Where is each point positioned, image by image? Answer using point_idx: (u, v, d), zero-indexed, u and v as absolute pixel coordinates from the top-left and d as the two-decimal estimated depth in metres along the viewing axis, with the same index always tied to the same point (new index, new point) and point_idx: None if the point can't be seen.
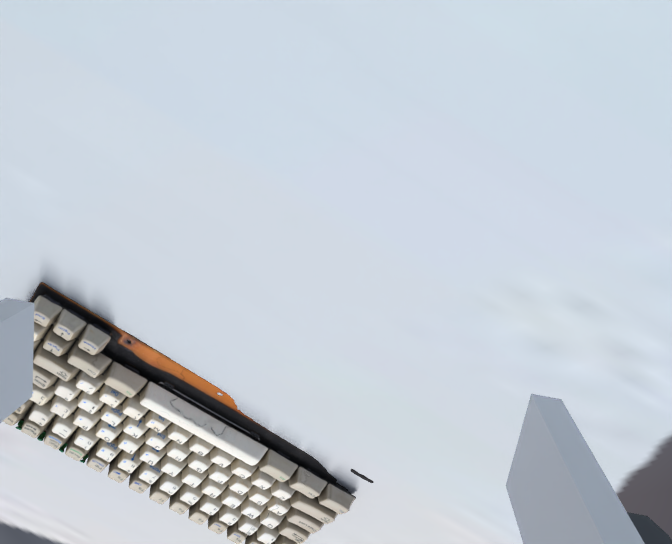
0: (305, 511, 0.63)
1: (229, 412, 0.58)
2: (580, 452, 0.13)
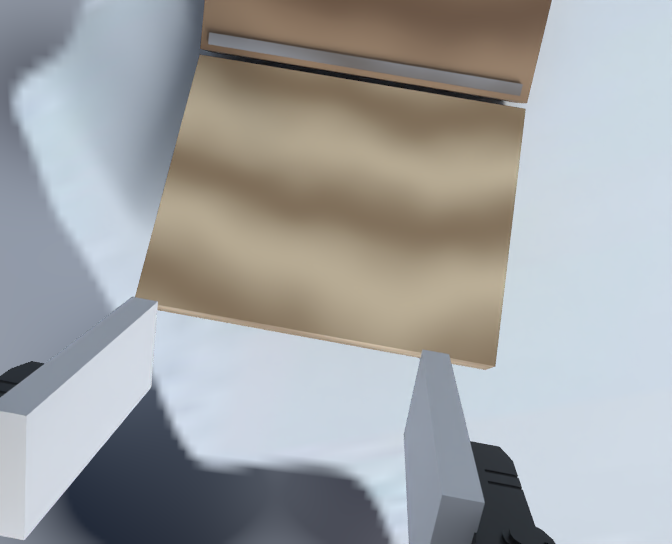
0: None
1: None
2: (447, 393, 0.14)
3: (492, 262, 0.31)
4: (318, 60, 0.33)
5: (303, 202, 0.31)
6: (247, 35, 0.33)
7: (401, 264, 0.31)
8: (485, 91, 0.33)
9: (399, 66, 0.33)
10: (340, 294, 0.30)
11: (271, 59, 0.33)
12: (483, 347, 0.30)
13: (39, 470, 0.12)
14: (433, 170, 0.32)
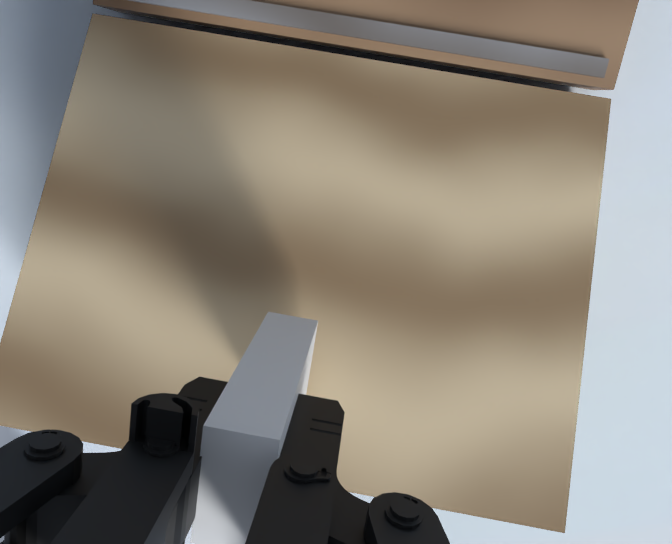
0: None
1: None
2: (296, 352, 0.15)
3: (559, 354, 0.19)
4: (279, 21, 0.20)
5: (254, 255, 0.20)
6: None
7: (410, 360, 0.19)
8: (547, 71, 0.20)
9: (409, 30, 0.20)
10: None
11: (205, 20, 0.21)
12: (545, 500, 0.18)
13: None
14: (464, 200, 0.20)
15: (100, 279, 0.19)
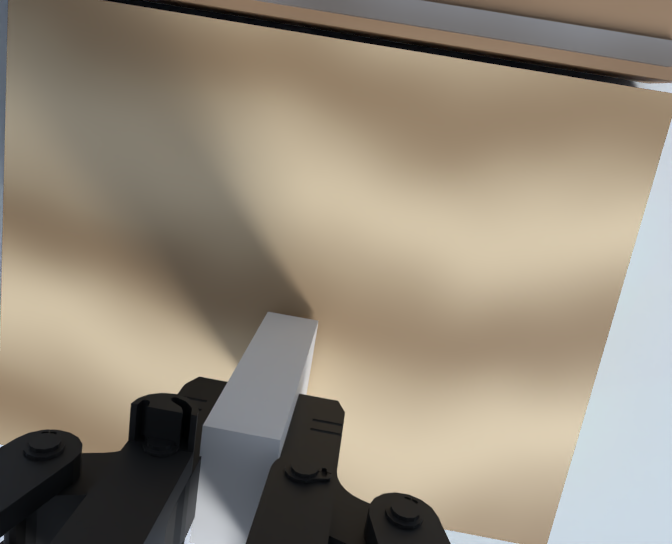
0: None
1: None
2: (297, 352, 0.15)
3: (563, 396, 0.18)
4: None
5: (239, 292, 0.18)
6: None
7: (406, 398, 0.18)
8: (595, 58, 0.16)
9: (416, 5, 0.15)
10: None
11: None
12: (530, 522, 0.19)
13: None
14: (474, 230, 0.17)
15: (82, 316, 0.19)
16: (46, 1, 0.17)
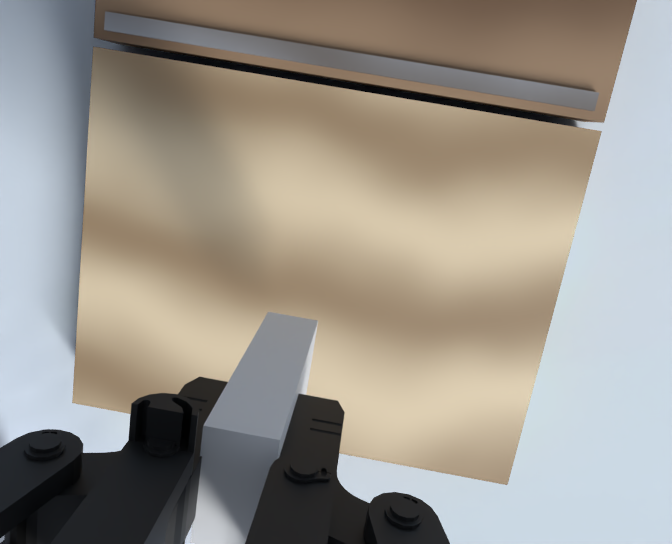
0: None
1: None
2: (296, 352, 0.15)
3: (519, 363, 0.23)
4: (276, 55, 0.21)
5: (266, 281, 0.23)
6: (166, 16, 0.21)
7: (397, 365, 0.24)
8: (538, 104, 0.21)
9: (403, 64, 0.21)
10: None
11: (203, 54, 0.21)
12: (495, 464, 0.24)
13: None
14: (449, 233, 0.22)
15: (143, 300, 0.24)
16: (121, 59, 0.22)
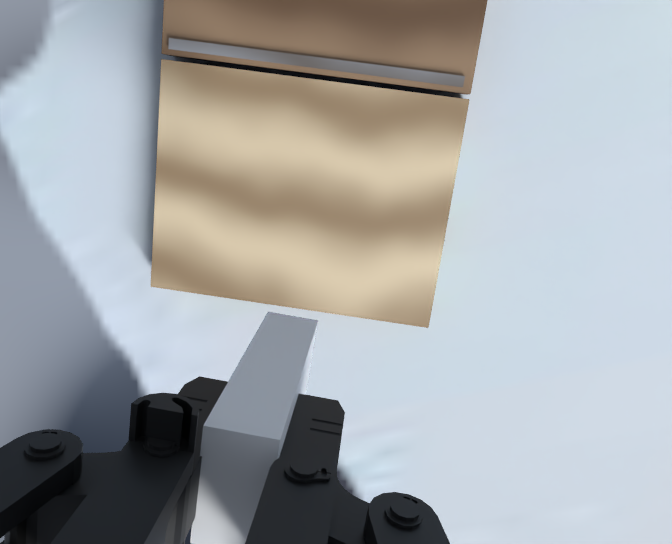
0: None
1: None
2: (296, 352, 0.15)
3: (430, 247, 0.37)
4: (272, 60, 0.35)
5: (271, 201, 0.37)
6: (205, 39, 0.35)
7: (354, 252, 0.38)
8: (430, 84, 0.35)
9: (348, 63, 0.34)
10: (307, 277, 0.38)
11: (228, 61, 0.35)
12: (419, 314, 0.38)
13: None
14: (382, 166, 0.36)
15: (194, 217, 0.38)
16: (178, 66, 0.36)
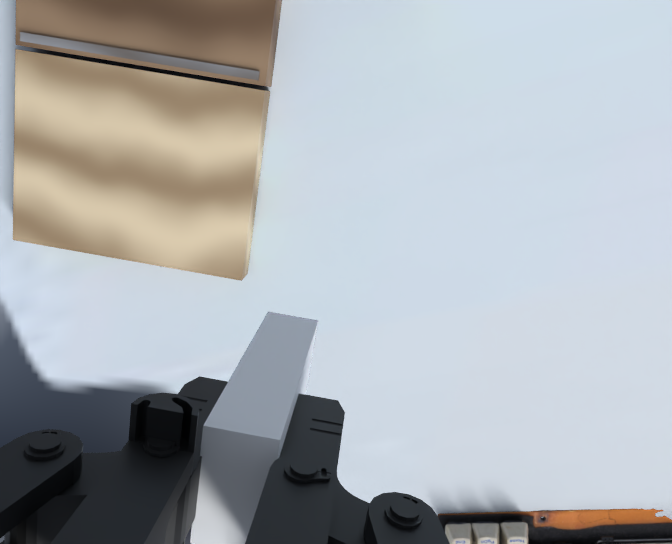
0: None
1: None
2: (296, 352, 0.15)
3: (239, 212, 0.45)
4: (104, 53, 0.42)
5: (109, 170, 0.45)
6: (50, 34, 0.43)
7: (179, 214, 0.45)
8: (233, 77, 0.42)
9: (165, 57, 0.42)
10: (141, 235, 0.46)
11: (70, 52, 0.43)
12: (234, 268, 0.46)
13: None
14: (197, 143, 0.44)
15: (47, 181, 0.46)
16: (30, 55, 0.43)
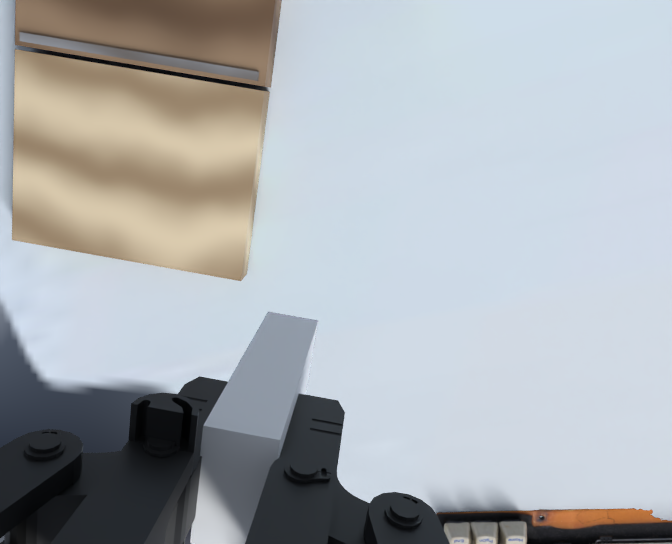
0: None
1: None
2: (296, 352, 0.15)
3: (239, 212, 0.45)
4: (103, 53, 0.42)
5: (108, 170, 0.45)
6: (50, 34, 0.43)
7: (178, 215, 0.45)
8: (232, 77, 0.42)
9: (164, 58, 0.42)
10: (140, 235, 0.46)
11: (69, 53, 0.43)
12: (233, 269, 0.46)
13: None
14: (197, 144, 0.44)
15: (46, 182, 0.46)
16: (29, 55, 0.43)
